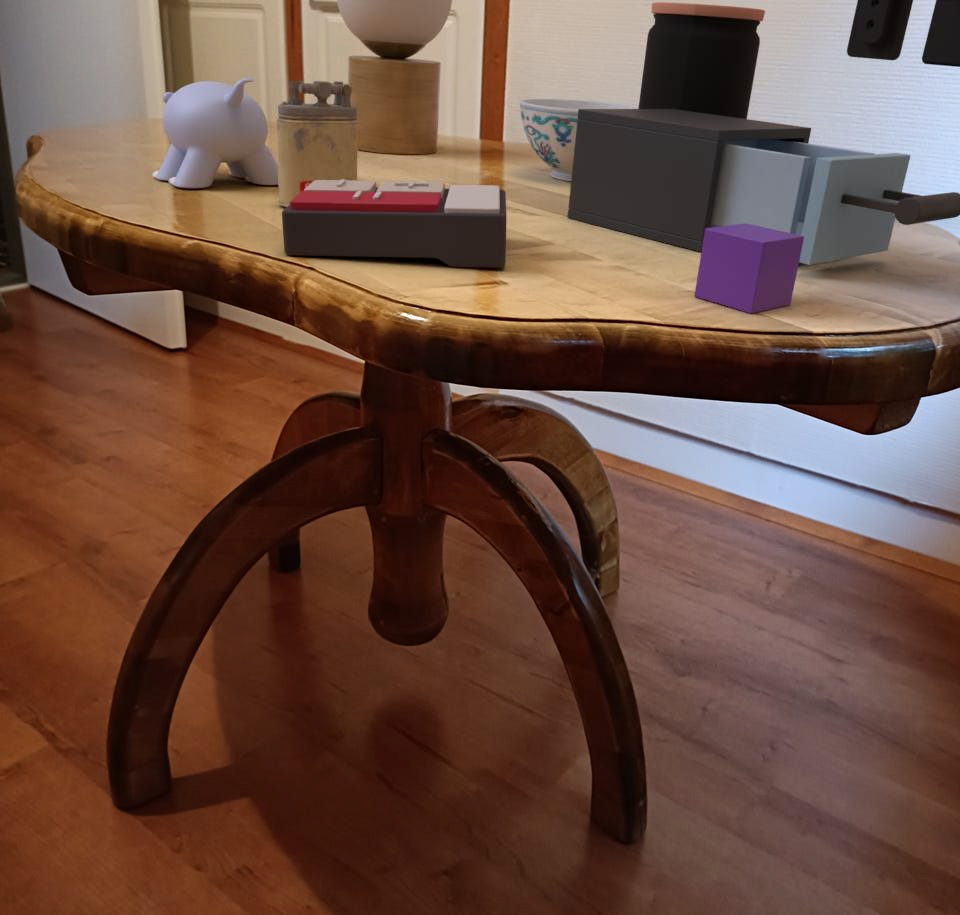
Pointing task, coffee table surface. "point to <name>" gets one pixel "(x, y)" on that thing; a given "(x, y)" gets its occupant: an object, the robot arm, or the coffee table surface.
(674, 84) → the coffee jar
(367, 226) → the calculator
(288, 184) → the lighter
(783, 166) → the grey drawer
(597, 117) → the drawer cabinet
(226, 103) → the hippopotamus toy
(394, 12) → the lamp
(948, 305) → the coffee table surface
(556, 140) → the chinaware
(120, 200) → the coffee table surface
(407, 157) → the coffee table surface
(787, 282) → the purple cube
